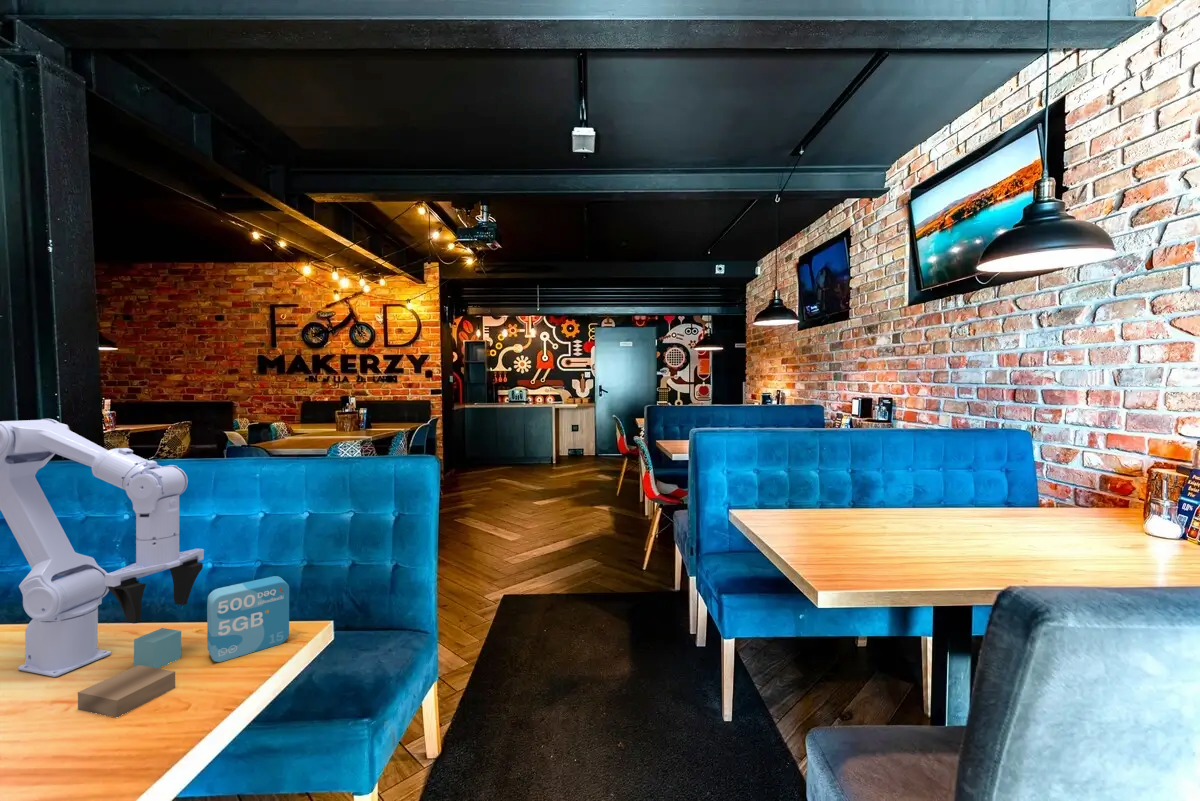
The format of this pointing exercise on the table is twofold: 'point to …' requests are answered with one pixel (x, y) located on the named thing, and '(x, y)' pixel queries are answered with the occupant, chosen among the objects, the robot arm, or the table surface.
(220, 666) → the table surface
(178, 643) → the teal block
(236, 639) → the data package
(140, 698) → the walnut block
